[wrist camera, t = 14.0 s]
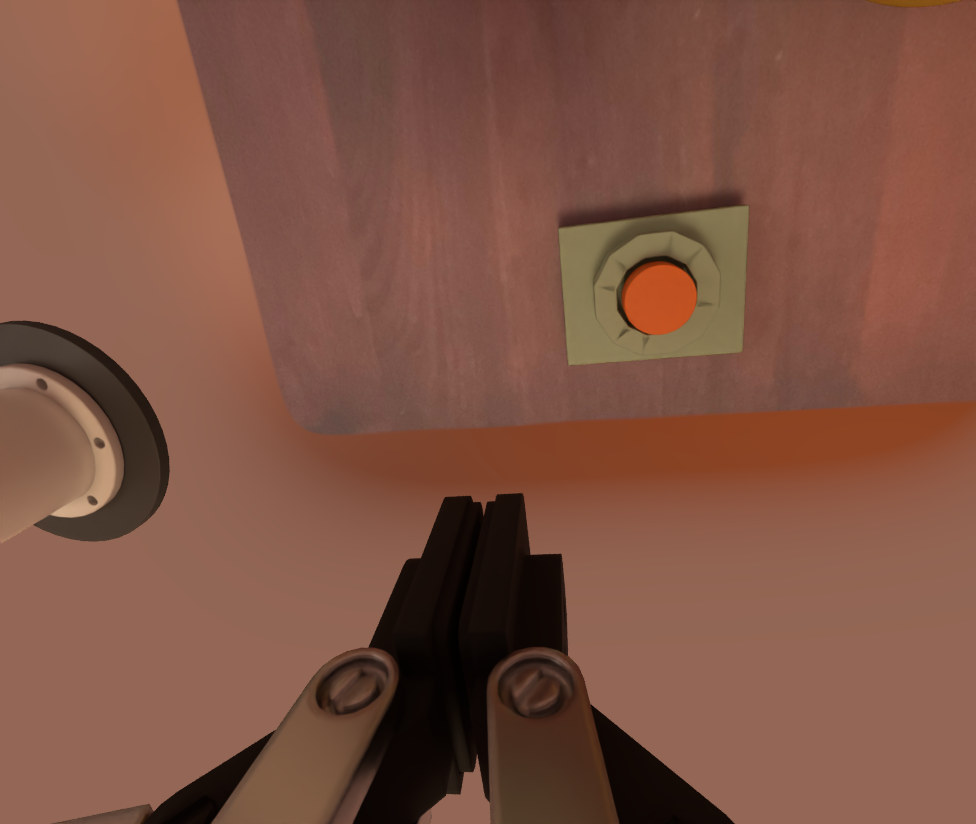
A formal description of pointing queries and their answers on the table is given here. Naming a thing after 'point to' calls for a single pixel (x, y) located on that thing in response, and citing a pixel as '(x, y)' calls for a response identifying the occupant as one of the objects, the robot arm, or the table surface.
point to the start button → (659, 297)
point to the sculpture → (912, 2)
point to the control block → (636, 241)
